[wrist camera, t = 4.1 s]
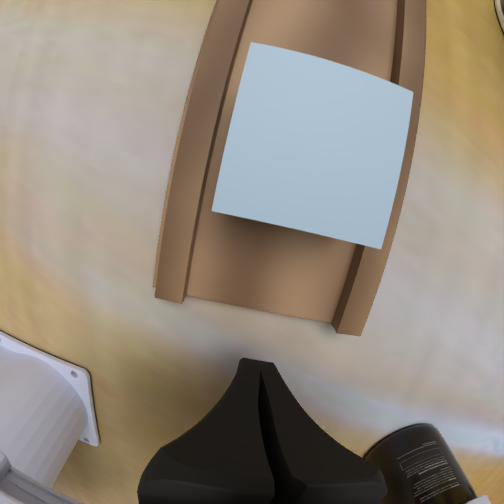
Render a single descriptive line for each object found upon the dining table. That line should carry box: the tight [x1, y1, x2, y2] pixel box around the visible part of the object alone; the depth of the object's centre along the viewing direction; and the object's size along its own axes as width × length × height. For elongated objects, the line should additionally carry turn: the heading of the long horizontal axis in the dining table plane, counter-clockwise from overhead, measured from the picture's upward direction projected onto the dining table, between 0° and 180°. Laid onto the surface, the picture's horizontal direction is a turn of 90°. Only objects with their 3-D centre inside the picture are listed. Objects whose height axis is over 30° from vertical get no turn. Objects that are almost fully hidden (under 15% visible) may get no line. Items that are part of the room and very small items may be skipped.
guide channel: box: [153, 0, 426, 336], centre depth 9 cm, size 10×24×5 cm, turn 168°
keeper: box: [212, 42, 413, 249], centre depth 10 cm, size 5×5×4 cm
